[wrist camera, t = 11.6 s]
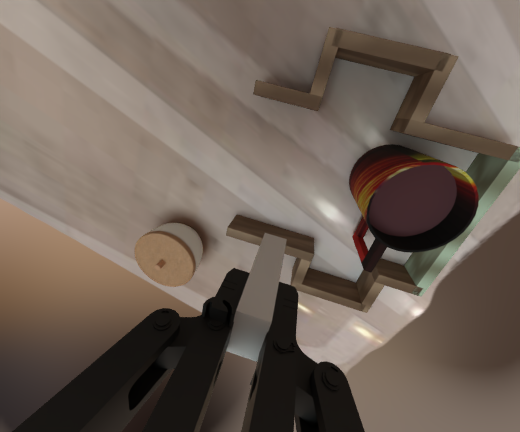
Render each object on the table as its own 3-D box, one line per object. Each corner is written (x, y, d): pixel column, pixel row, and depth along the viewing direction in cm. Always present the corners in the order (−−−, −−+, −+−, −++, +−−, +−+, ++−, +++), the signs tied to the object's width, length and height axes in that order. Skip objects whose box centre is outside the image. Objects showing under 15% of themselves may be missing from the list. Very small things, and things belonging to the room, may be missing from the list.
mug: (351, 235, 38) (367, 284, 27) (347, 150, 33) (365, 170, 22) (417, 231, 35) (464, 283, 25) (425, 138, 30) (487, 153, 19)
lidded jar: (221, 238, 43) (200, 269, 35) (194, 270, 48) (169, 303, 40) (176, 202, 42) (142, 225, 34) (152, 238, 47) (117, 266, 38)
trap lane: (275, 27, 28) (268, 12, 24) (537, 89, 26) (583, 84, 22) (229, 249, 44) (220, 265, 39) (390, 301, 41) (400, 324, 37)
